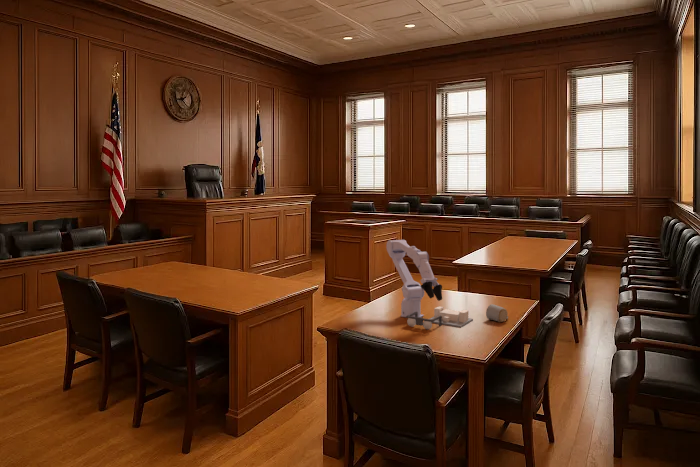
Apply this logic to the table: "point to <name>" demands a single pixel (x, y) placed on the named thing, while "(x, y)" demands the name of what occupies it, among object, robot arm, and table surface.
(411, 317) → the glasses
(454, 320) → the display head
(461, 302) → the table surface
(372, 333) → the table surface
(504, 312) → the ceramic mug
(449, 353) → the table surface
